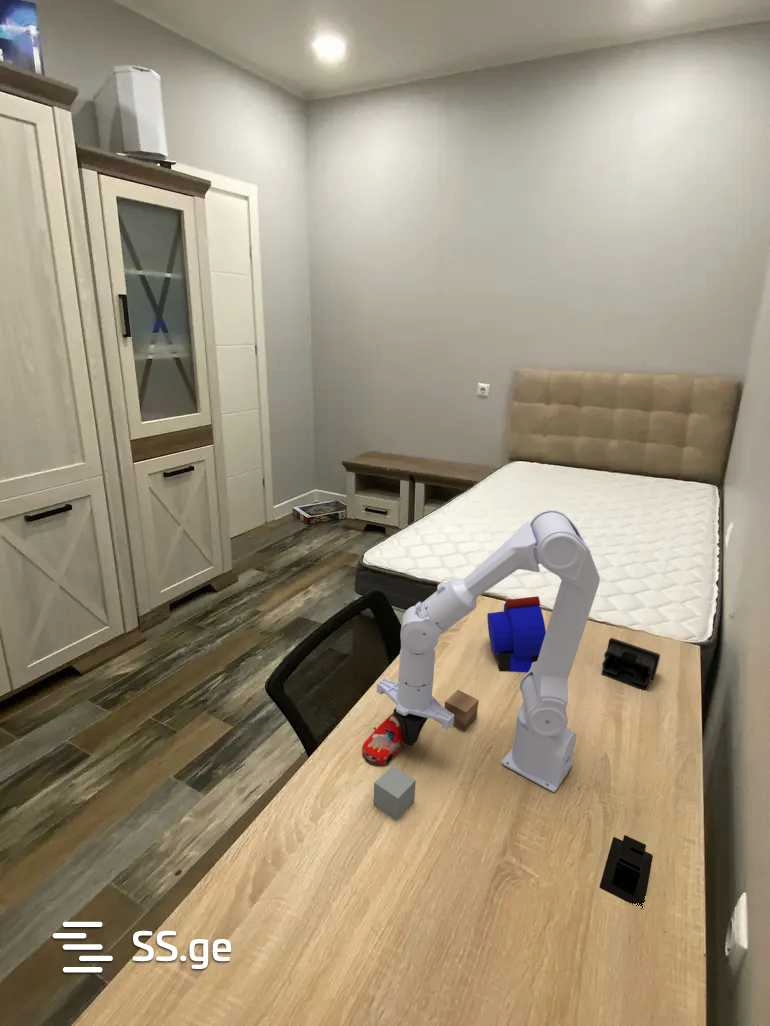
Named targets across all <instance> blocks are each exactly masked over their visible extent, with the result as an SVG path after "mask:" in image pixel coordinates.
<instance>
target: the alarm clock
mask: <svg viewBox="0 0 770 1026" xmlns="http://www.w3.org/2000/svg"><path fill="white" fill-rule="evenodd" d="M540 602H541V600H540V596H529V597H519V598H511V599H505V602H504V605H503V611H495V612H488V613H487V630H488V637H489V642H490V646H491V652H492V654H493V655H496V658H497V664H498V665H497V667H498V671H499V672H503V673H504V672H505V673H506V672H507V673H526V674H527V673H528V672H529V670H530V668H531V665H532V663H533V662H536V661H537V660H538V657H539V654H540V650H541V647H542V644H543V640H544V637H545V634H546V630H547V629H546V624H545V619H544V615H543V611H542V609H541V606H540V605H541V603H540Z"/></svg>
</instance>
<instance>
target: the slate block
mask: <svg viewBox="0 0 770 1026" xmlns="http://www.w3.org/2000/svg"><path fill="white" fill-rule="evenodd" d="M416 783H417V779H415V778H414V777H412V776H410V775H409V774H407V773H406V772H404V771H403V770H400V769H399V768H397V767H396V766H394V765H391V766H390V767H389V768H388V769H387V770H386V771H385V772H384V773H383V774H381V775H380V777H379V778H378V779H376V780H375V782H373V804H372V805H373V806H374V807H376V808H377V809H379V810H380V811H381V812H383V813H384V814H386V815H387V816H389V817H390V818H391V819H393V820H395V821H396V822H398V821H399V819H400V818H401V817H402V816H403V815H404V814H405V813H406V811H408V809H410V807H411V806H413V804H414V803H415V799H416V798H415V796H416V795H415V793H416V785H417V784H416Z"/></svg>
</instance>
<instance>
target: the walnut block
mask: <svg viewBox="0 0 770 1026" xmlns="http://www.w3.org/2000/svg"><path fill="white" fill-rule="evenodd" d="M479 700H480V699H478V698H476V697H474V696H471V695H469V694H468V693H465V692H463V691H462V690H459V689H456V691H454V693H452V694H451V695H450V696H449V697H448V698H447V699H446V700H445V701H444V706H443V707H444V708H445V709H447V710H448V711H449V712H451V713H452V714H454V724H453V726H452V727H454V728H456V729H458V730H459V731H461V732H463V733H465V732H466V731H467V730H468V729H469V728H470V726H472V725H473V724H474V722H475V721H476V720H477V718H478V717H477V716H478V709H479V702H480V701H479Z"/></svg>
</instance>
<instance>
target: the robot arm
mask: <svg viewBox="0 0 770 1026" xmlns="http://www.w3.org/2000/svg"><path fill="white" fill-rule="evenodd" d="M539 564H540V565H541V566H542V567H543V568H544V569H546V570H547V571H549V572H550V573H553V574H554V575H556V576H557V577H558V578H559V579H560V580H561V582H560V585H559V586H558V591H557V594H556V597H555V601H554V605H553V607H552V611H551V614H550V617H549V621H548V625H547V628H546V629H545V630H546V634H545V637H544V640H543V644H542V647H541V650H540V654H539V657H538V660H537V661H536V662H533V663H532V665H531V668H530V670H529V672H528V673H527V672H526V674H525V675H523V676H522V678H521V680H520V683H519V689H520V692H521V694H522V699H523V702H522V703H521V706H520V707H519V708H518V711H517V717H516V723H515V731H514V735H513V736H514V737H513V742H512V744H513V745H512V747H511V749H510V751H509V752H508V753H507V754H506V755H505V756H504V757H503V759H502V760H501V764H502V765H503V766H505V767H506V768H509V769H510V770H511V771H514V773H517V774H519V775H521V776H523V777H524V778H527V779H528V780H529V781H532V782H533V783H535V784H537V785H539V786H540V787H543V788H545V789H546V790H548V791H550V792H552V793H555V792H557V790H558V788H559V787H560V785H561V783H563V780H565V777H566V776H567V775H568V774H569V771H570V770H571V768H572V767H573V757H574V753H575V747H576V743H577V733H575V732H574V731H573V730H571V729H570V728H568V727H567V726H568V722H569V717H568V715H567V706H568V702H569V677H570V674H571V671H572V668H573V664H574V662H575V658H576V655H577V652H578V649H579V647H580V643H581V640H582V637H583V635H584V631H585V628H586V624H587V622H588V618H589V615H590V612H591V609H592V606H593V603H594V600H595V598H596V594H597V591H598V589H599V586H600V580H601V578H600V574H599V572H598V569H597V567H596V564H595V561H594V559H593V557H592V554H591V550H590V548H589V546H588V545H587V543H586V541H585V540H584V538H583V536H582V534H581V532H580V531H579V529H578V527H577V526H576V525H575V524H574V523H573V521H571V519H570V517H568V516H567V515H566V514H565V513H563V512H562V511H560V510H557V509H547V510H543V511H540V512H539V513H537V514H536V515H535V516H534V517H533V518H532V520H531V521H530V522H529V521H527V522H525V523H523V524H522V525H521V526H520V527H519V528H518V529H517V530H516V531H515V532H514V533H513V534H512V536H511V537H509V539H508V540H506V541H505V542H504V543H503V544H502V545H500V547H498V548H497V549H496V550H495V551H494V552H493V553H492V554H490V555H489V556H488V557H487V558H486V559H485V560H484V561H482V562H481V564H479V565H478V566H477V567H475V569H474V570H472V571H471V572H470V573H469V574H468V575H467V576H466V577H465V578H451V579H449V581H448V582H445V581H441V582H440V583H439V584H438V585H437V590H436V591H435V592H433V593H432V594H431V595H430V596H429V597H427V598H426V599H425V600H424V601H422V602H421V601H418V602H417V603H416V604H415V605H413V606H410V607H409V608H407V609H406V611H404V613H403V616H402V617H401V627H400V634H399V635H400V636H399V637H400V651H399V662H398V679H397V680H398V682H396V681H392V680H389V679H387V678H385V677H384V678H382V679H380V680H379V681H378V682H377V683H376V693H377V694H379V695H383V694H385V695H386V696H387V697H388V698H389V699H390V700H391V701H392V702H393V703H394V704H395V705H396V707H395V708H393V712H392V713H393V715H394V716H395V717H396V719H397V721H398V722H399V725H400V727H401V730H402V733H403V737H404V741H405V745H406V746H408V747H410V748H412V747H413V746H415V744H416V743H418V741H419V738H420V737H419V736H420V734H421V731H422V729H423V727H424V725H425V724H426V722H427V721H428V719H430V720H433V721H435V722H437V723H438V724H441V727H442V729H444V730H446V731H448V730H450V728H452V727H453V726H452V725H453V724H454V714H452V713H451V712H449V711H448V710H447V709H445V708H444V707H445V706H443V705H442V704H441V702H439V701H438V700H437V699H436V698H435V697H434V696H433V687H434V686H433V685H434V672H435V663H436V662H435V661H436V652H435V649H436V647H437V646H438V644H439V637H440V636H441V635H442V634H444V633H445V632H447V631H448V630H449V629H450V628H452V627H453V626H455V625H456V624H457V623H459V622H460V621H461V620H462V619H464V618H465V617H466V616H468V615H469V614H470V613H471V612H473V611H474V610H475V609H476V608H477V599H478V597H480V596H481V595H483V594H484V593H486V592H487V591H489V590H491V588H493V587H494V586H496V585H498V583H500V582H502V581H503V580H504V579H506V578H508V577H509V576H510V575H511V574H512V575H513V574H514V573H515V572H517V570H523V571H524V570H525V571H529V572H535V573H540V572H541V570H540V569H541V568H540V567H539Z"/></svg>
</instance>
